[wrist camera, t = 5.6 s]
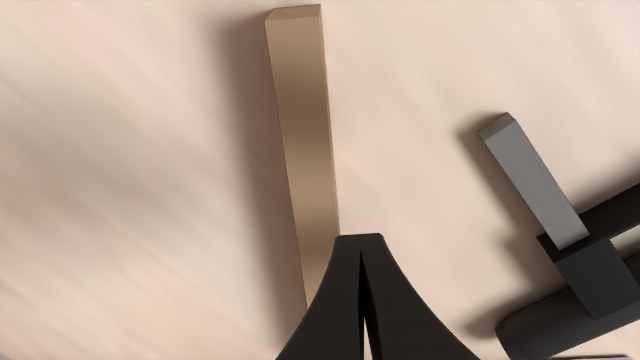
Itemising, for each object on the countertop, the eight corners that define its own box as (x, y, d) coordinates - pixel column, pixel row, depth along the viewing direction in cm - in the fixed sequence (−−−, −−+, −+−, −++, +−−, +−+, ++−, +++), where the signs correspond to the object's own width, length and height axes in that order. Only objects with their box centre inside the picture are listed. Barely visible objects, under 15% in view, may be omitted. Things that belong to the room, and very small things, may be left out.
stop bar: (349, 347, 29) (351, 387, 26) (320, 348, 29) (319, 388, 26) (320, 4, 18) (318, 16, 15) (273, 8, 18) (264, 21, 15)
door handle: (381, 215, 21) (533, 389, 26) (868, -91, 14) (940, 226, 19) (377, 183, 24) (514, 345, 29) (778, -82, 17) (863, 191, 22)
